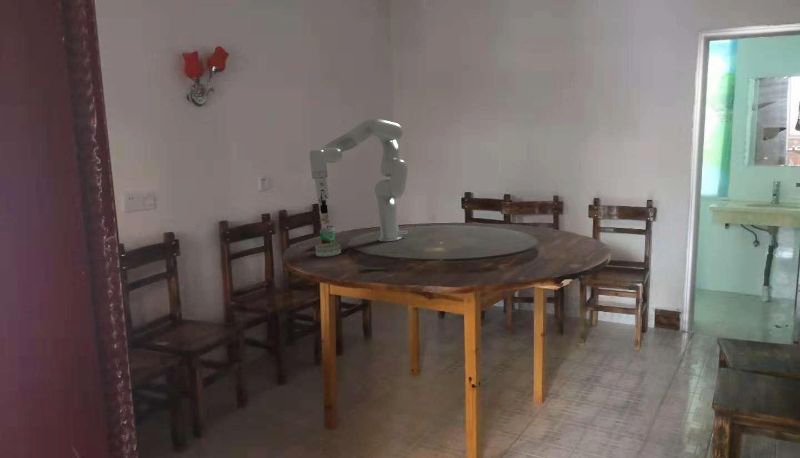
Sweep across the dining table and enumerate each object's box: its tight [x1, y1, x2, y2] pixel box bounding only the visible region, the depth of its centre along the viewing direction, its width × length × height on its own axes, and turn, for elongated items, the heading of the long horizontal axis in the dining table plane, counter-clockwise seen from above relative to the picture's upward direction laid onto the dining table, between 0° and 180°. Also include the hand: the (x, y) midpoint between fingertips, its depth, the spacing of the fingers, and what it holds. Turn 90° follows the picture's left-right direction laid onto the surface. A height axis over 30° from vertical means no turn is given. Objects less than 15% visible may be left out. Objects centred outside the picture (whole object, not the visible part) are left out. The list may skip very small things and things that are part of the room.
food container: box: [319, 224, 336, 245], centre depth 328 cm, size 12×6×10 cm, turn 168°
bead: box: [314, 242, 342, 257], centre depth 308 cm, size 12×12×4 cm
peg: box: [317, 195, 330, 225], centre depth 305 cm, size 4×4×14 cm
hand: (323, 212), depth 305 cm, fingers closed on peg, 4 cm apart
